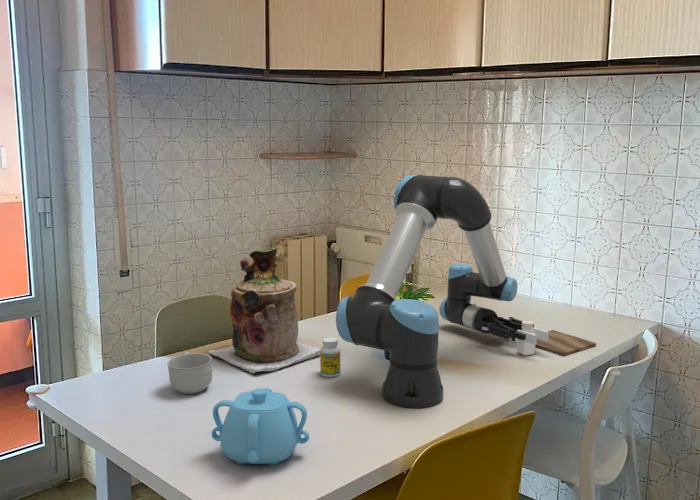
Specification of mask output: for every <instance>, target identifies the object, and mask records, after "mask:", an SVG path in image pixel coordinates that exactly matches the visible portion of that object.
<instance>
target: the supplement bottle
mask: <svg viewBox="0 0 700 500" xmlns="http://www.w3.org/2000/svg"><path fill="white" fill-rule="evenodd" d="M338 342H339V341H338V338H336V337H325V338H323V339H322V346H321V349H320V356H319V357H320V359H319V360H320V362H319V363H320V364H319V365H320V367H319V369H320V375H321V376H323V377H324V378H325V377H326V378H335V377H338V376H339V375H341V348H340V347H339V346H338V344H339V343H338Z"/></svg>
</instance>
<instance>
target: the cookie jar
mask: <svg viewBox="0 0 700 500" xmlns="http://www.w3.org/2000/svg"><path fill="white" fill-rule="evenodd" d="M277 252H278V249H277V248H276V247H273V248H271V249H270V250H261V249H259V250H258V249H257V250H253V251H252V252H250V253H249V255H248V256H247V257H244V258H242V259H240V261H239V265H240V268H241V271H242V272H245V273H246V274H245V275H244V276H243V277H244V278H243V279H242V280H240V281H239V282H237V284H236V285H235V286H234V287H233V288H232V290H231V293H230V295H231V299H230V300H231V302H230V307H229V310H230V313H229V316H230V318H231V324H232V328H233V333H232V339H231V340H232V341H231V342H232V345H230V346H228V347H224V348H221V349H220V348H219V349H212V350H208V353H209V354H208V355H210V356H213V357H217V358H220V359H221V360H223V361H225V362H227V363H229V364H231V365H233V366H236V367H238V368H240V369H242V370H244V371H247V372H249V373H251V374H256V373H259V372H274V371H277V370H279V369H282V368H285V367H288V366H291V365H294V364H296V363H297V364H298V363H300V362H304V361H306V360H308V359H311V358H315V357H318V356H319V357H320V349H321V348H320V347H317V346H310V345H308V344H304V343H301V342H298V337H299V321H298V320H299V319H298V311H297V308H296V300H295V299H296V298H295V293H296V292H297V288H298V287H297V284H296V283H295V282H294V281H291V280H287V279H282V278H280V277H279V276H278V275H275V272H276V270H277V267H278V265H279V263H278V262H277Z"/></svg>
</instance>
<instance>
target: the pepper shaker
mask: <svg viewBox="0 0 700 500" xmlns="http://www.w3.org/2000/svg"><path fill="white" fill-rule="evenodd" d="M521 321H522V331H525V332H528V333H531V334H534V333H533V332H532V330H533V324H534V322H533V321H531V320H521ZM534 335H535V334H534ZM516 342H517V343H516V344H517V345H516V346H517V347H516V351H517V353H519V354H521V355H522V356H530V355H532V356H533V355H535V353H536V347H535V345H534V344H530V343H527V342H524V341H521V340H518V339H517V341H516Z"/></svg>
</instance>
